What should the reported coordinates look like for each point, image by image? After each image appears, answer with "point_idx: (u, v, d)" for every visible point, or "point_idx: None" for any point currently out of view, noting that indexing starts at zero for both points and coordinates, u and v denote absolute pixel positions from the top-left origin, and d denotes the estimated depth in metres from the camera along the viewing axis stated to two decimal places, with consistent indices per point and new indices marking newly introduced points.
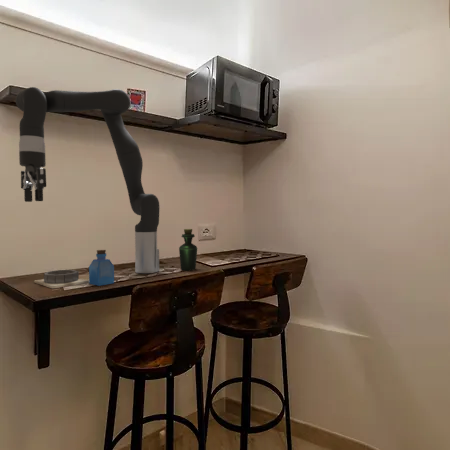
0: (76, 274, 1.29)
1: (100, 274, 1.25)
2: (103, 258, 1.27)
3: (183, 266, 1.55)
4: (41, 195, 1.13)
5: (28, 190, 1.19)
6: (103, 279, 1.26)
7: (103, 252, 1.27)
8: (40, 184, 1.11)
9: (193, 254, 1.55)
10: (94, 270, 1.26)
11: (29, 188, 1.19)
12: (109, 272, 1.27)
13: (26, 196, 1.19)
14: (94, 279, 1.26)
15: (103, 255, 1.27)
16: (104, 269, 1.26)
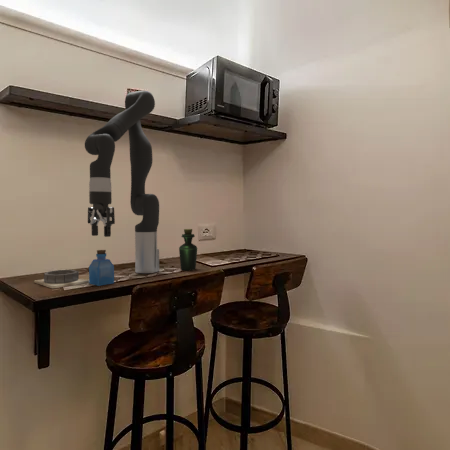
0: (76, 274, 1.29)
1: (100, 274, 1.25)
2: (103, 258, 1.27)
3: (183, 266, 1.55)
4: (110, 231, 1.25)
5: (95, 225, 1.30)
6: (103, 279, 1.26)
7: (103, 252, 1.27)
8: (110, 222, 1.23)
9: (193, 254, 1.55)
10: (94, 270, 1.26)
11: (95, 223, 1.31)
12: (109, 272, 1.27)
13: (93, 231, 1.30)
14: (94, 279, 1.26)
15: (103, 255, 1.27)
16: (104, 269, 1.26)
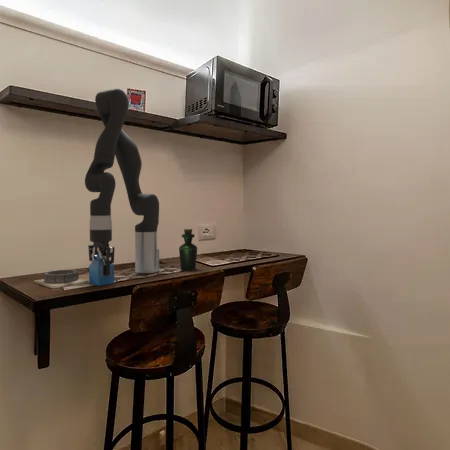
0: (76, 274, 1.29)
1: (100, 273, 1.25)
2: None
3: (183, 266, 1.55)
4: (109, 270, 1.26)
5: None
6: (103, 279, 1.26)
7: None
8: (109, 262, 1.24)
9: (193, 254, 1.55)
10: (94, 270, 1.26)
11: None
12: None
13: None
14: (94, 279, 1.26)
15: None
16: None
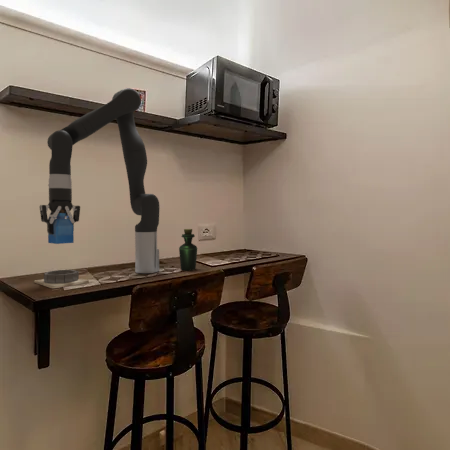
0: (76, 274, 1.29)
1: None
2: (56, 217, 1.27)
3: (183, 266, 1.55)
4: (48, 229, 1.25)
5: None
6: (50, 237, 1.27)
7: None
8: (42, 219, 1.24)
9: (193, 254, 1.55)
10: None
11: None
12: None
13: None
14: None
15: None
16: None
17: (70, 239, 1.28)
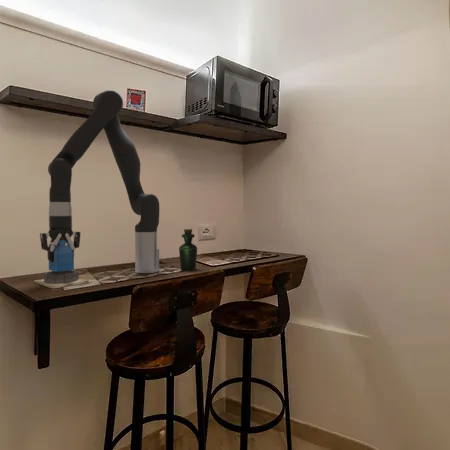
0: (76, 274, 1.29)
1: None
2: (57, 244, 1.28)
3: (183, 266, 1.55)
4: (48, 256, 1.25)
5: None
6: (51, 264, 1.28)
7: None
8: (42, 247, 1.25)
9: (193, 254, 1.55)
10: None
11: None
12: (54, 259, 1.26)
13: None
14: None
15: None
16: None
17: (70, 266, 1.29)
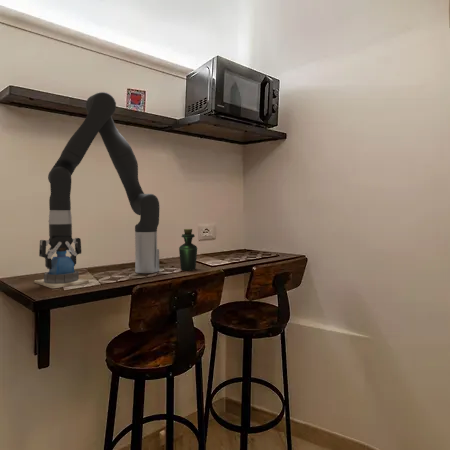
0: (76, 274, 1.29)
1: (50, 269, 1.29)
2: (57, 255, 1.28)
3: (183, 266, 1.55)
4: (46, 263, 1.25)
5: (72, 255, 1.32)
6: None
7: None
8: (40, 254, 1.24)
9: (193, 254, 1.55)
10: None
11: (72, 254, 1.32)
12: (54, 270, 1.26)
13: None
14: None
15: (56, 252, 1.28)
16: None
17: None
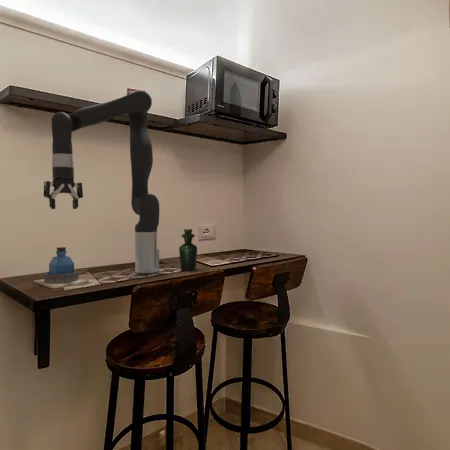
0: (76, 274, 1.29)
1: (50, 269, 1.29)
2: (57, 255, 1.28)
3: (183, 266, 1.55)
4: (50, 203, 1.33)
5: (74, 199, 1.40)
6: None
7: (57, 249, 1.28)
8: (44, 195, 1.32)
9: (193, 254, 1.55)
10: None
11: (74, 197, 1.40)
12: (54, 270, 1.26)
13: None
14: None
15: (56, 252, 1.28)
16: (51, 266, 1.28)
17: None
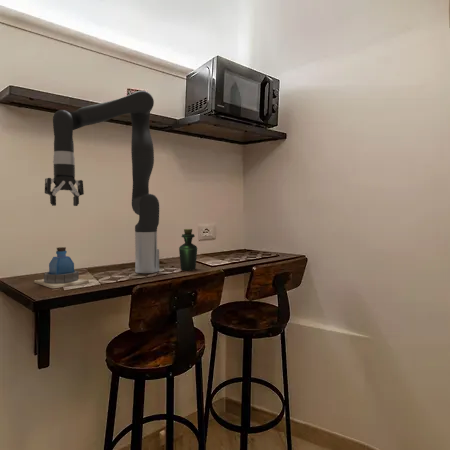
0: (76, 274, 1.29)
1: (50, 269, 1.29)
2: (57, 255, 1.28)
3: (183, 266, 1.55)
4: (51, 200, 1.34)
5: (75, 196, 1.42)
6: None
7: (57, 249, 1.28)
8: (45, 191, 1.34)
9: (193, 254, 1.55)
10: None
11: (75, 194, 1.42)
12: (54, 270, 1.26)
13: (73, 201, 1.42)
14: None
15: (56, 252, 1.28)
16: (51, 266, 1.28)
17: None
